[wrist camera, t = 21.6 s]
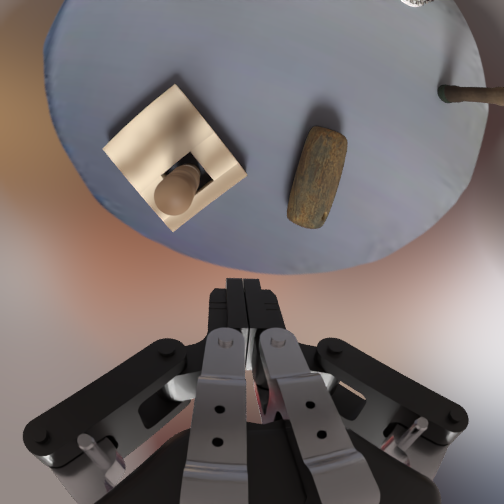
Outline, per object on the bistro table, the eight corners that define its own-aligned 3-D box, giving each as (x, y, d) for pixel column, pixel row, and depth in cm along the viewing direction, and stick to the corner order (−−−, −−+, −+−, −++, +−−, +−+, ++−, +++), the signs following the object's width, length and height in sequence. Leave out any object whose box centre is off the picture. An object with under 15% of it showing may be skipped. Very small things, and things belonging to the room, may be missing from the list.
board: (110, 146, 37) (102, 148, 35) (178, 86, 35) (175, 84, 32) (175, 225, 44) (172, 232, 41) (245, 172, 42) (247, 175, 39)
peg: (169, 172, 40) (146, 194, 28) (191, 155, 40) (175, 169, 27) (186, 193, 42) (171, 223, 30) (207, 176, 41) (200, 199, 29)
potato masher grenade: (447, 123, 40) (576, 155, 13) (421, 93, 37) (562, 105, 10) (461, 94, 37) (582, 113, 10) (436, 64, 34) (565, 63, 7)
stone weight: (320, 220, 46) (334, 235, 40) (280, 214, 45) (289, 228, 39) (341, 134, 40) (359, 136, 34) (300, 123, 39) (313, 123, 33)
